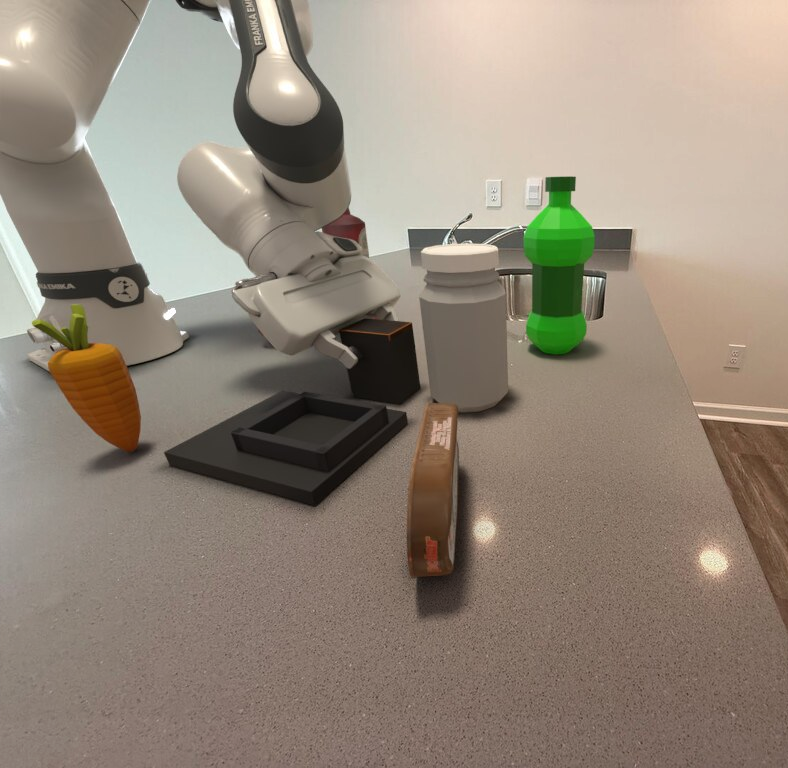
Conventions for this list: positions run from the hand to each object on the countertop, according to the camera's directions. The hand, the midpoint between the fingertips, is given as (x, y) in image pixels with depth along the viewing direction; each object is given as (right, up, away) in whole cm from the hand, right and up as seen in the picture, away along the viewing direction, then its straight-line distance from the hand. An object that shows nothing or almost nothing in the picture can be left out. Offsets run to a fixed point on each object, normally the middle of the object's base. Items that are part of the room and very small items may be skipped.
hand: (381, 349), depth 51 cm
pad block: (0, -5, +2) cm, 6 cm away
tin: (+11, -15, -19) cm, 27 cm away
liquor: (-13, +7, +29) cm, 32 cm away
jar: (+11, -6, 0) cm, 13 cm away
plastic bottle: (+24, +1, +16) cm, 28 cm away
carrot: (-23, -11, -9) cm, 27 cm away
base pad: (-6, -11, -8) cm, 15 cm away
